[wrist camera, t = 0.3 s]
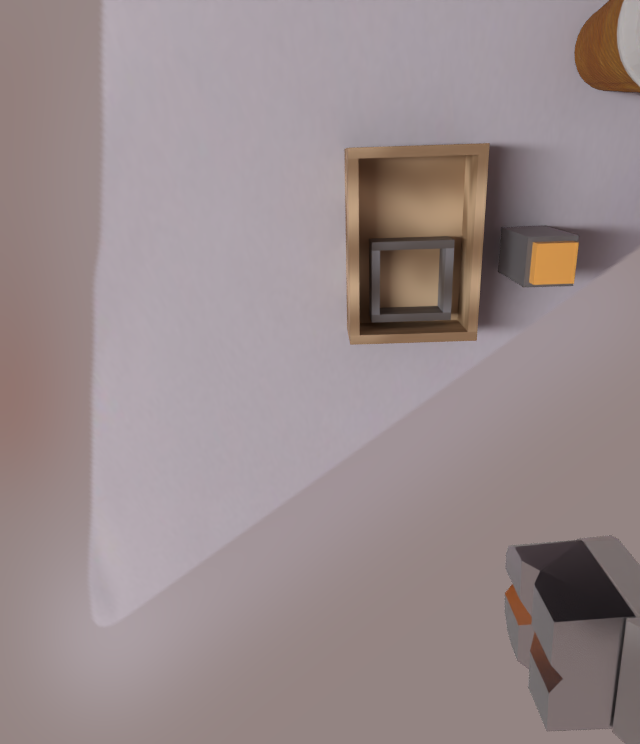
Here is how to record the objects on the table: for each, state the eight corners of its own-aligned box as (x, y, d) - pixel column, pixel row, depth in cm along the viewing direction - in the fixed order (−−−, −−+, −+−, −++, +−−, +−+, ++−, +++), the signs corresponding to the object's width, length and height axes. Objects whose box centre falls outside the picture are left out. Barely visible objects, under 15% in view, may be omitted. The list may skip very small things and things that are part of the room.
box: (344, 148, 50) (347, 147, 45) (473, 144, 50) (489, 143, 45) (347, 328, 56) (350, 344, 51) (462, 325, 56) (476, 340, 51)
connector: (501, 227, 52) (532, 238, 45) (546, 225, 52) (584, 237, 45) (498, 271, 54) (527, 289, 46) (541, 270, 54) (578, 288, 46)
